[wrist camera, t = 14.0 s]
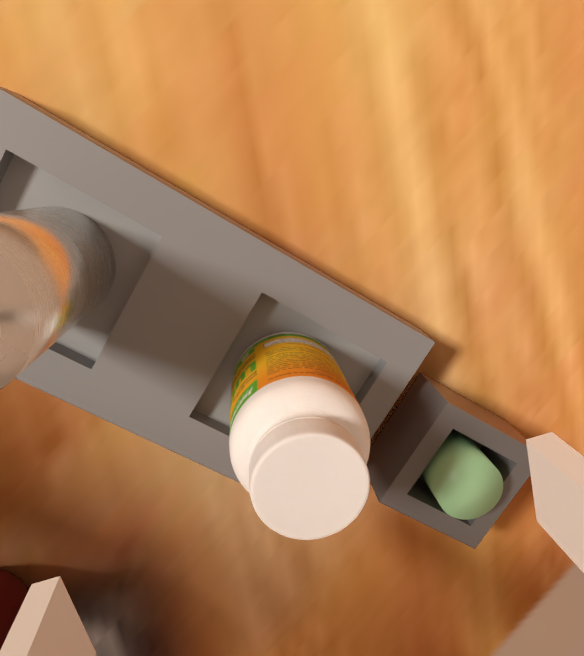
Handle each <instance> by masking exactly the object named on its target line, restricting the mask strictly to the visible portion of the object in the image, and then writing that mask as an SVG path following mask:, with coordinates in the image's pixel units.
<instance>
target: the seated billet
mask: <svg viewBox="0 0 584 656" xmlns="http://www.w3.org/2000/svg"><path fill="white" fill-rule="evenodd" d="M115 271H116V262H115V255H114V251H113V248H112V246H111V243H110V241H109V239H108V238H107V236H106V234H105V233H104V232H103V230H102V229H101V228H100V227H99V226H98V225H97V224H96V223H95V222H94V221H93V220H92V219H90V218H89V217H87V216H86V215H84V214H82V213H80V212H78V211H76V210H73V209H70V208H67V207H62V206H43V207H36V208H28V209H21V210H14V211H7V212H0V389H2V388H3V387H5V386H6V385H7V384H9V383H10V382H11V381H12V380H13V379H14V378H15V377H17V376H18V375H19V374H20V373H21V372H22V371H23V370H24V369H26V368H27V367H28V366H29V365H30V364H31V363H32V362H33V361H35V360H36V359H37V358H38V357H39V356H40V355H41V354H43V353H44V352H45V351H46V350H47V349H48V348H49V347H50V346H52V345H53V344H54V343H55V342H56V341H57V340H58V339H59V338H61V337H62V336H63V335H64V334H65V333H66V332H67V331H68V330H70V329H71V328H72V327H73V326H74V325H75V324H76V323H78V322H79V321H80V320H81V319H82V318H83V317H84V316H85V315H87V314H88V313H89V312H90V311H91V310H92V309H93V308H94V307H96V306H97V305H98V304H99V303H100V302H101V301H102V300H103V299H104V298H105V297H106V295H107V294H108V292H109V291H110V289H111V286H112V284H113V281H114V277H115Z"/></svg>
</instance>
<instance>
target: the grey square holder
mask: <svg viewBox="0 0 584 656" xmlns="http://www.w3.org/2000/svg"><path fill="white" fill-rule="evenodd" d="M452 429H455V430H457V431H458V432H460V433H462V434H464V435H466V436H468V437H469V438H470V439H471V440H472V441H473V442H474V443H475V444H476V446H477V447H478V448H479V449H480V450H481V451H482V452H483V454H484V455H485V456H486V457H487V458H488V459H489V460H490V461H491V463H492V464H493V465H494V466H495V467H496V468H497V469H498V471H499V472H500V474H501V476H502V479H503V492H502V495H501V498H500V500H499V501H498V503H497V504H496V505H495V507H494V508H493V509H492V510H490V511H489V512H488V513H486V514H485V515H483V516H480V517H478V518H474V519H468V520H463V519H457V518H454V517H452V516H450V515H448V514H447V513H446V512H445V511H444V510H443V509H442V507H441V506H440V504H439V503H438V501H437V499H436V498H435V496H434V494H433V493H432V491H431V490H430V488H429V486H428V485H427V483H426V481H425V480H424V478H423V476H422V475H421V474H422V472H423V471H424V469H425V468H426V467H427V465H428V464H429V462H430V461H431V459H432V458H433V457H434V455H435V454H436V452H437V451H438V449H439V448H440V447H441V445H442V444H443V442H444V441H445V439H446V438H447V437H448V435H449V434H450V432H451V431H452ZM367 467H368V471H369V476H370V482H371V484H372V487H373V489H374V491H375V493H376V496H377V498H378V500H379V502H380V503H382V504H384V505H386V506H388V507H390V508H392V509H394V510H396V511H398V512H401V513H403V514H405V515H407V516H409V517H411V518H413V519H415V520H417V521H419V522H421V523H423V524H425V525H427V526H429V527H431V528H433V529H435V530H437V531H439V532H442V533H444V534H446V535H448V536H450V537H452V538H454V539H456V540H458V541H460V542H462V543H464V544H466V545H468V546H470V547H472V548H474V549H475V548H476V547H477V546H478V544H479V543H480V542H481V540H482V539H483V538H484V536H485V535H486V534H487V532H488V531H489V530H490V528H491V527H492V526H493V524H494V523H495V522H496V520H497V519H498V518H499V516H500V515H501V514H502V512H503V511H504V510H505V508H506V507H507V506H508V504H509V503H510V502H511V500H512V499H513V498H514V496H515V495H516V494H517V492H518V491H519V490H520V488H521V487H522V486H523V484H524V483H525V482H526V480H527V479H528V478H529V476H530V475H531V474H530V466H529V459H528V451H527V444H526V438H525V437H523V436H522V435H521V434H520V433H519V432H518V431H517V430H516V429H515V428H514V427H512V426H511V425H510V424H509V423H508V422H507V421H506V420H504V419H502V418H500V417H499V416H497V415H495V414H493V413H492V412H490V411H488V410H486V409H484V408H483V407H481V406H479V405H477V404H476V403H474V402H472V401H470V400H468V399H467V398H465V397H463V396H461V395H460V394H458V393H456V392H454V391H452V390H451V389H449V388H447V387H445V386H444V385H442V384H440V383H438V382H436V381H435V380H433V379H431V378H429V377H428V376H426V375H424V374H422V373H420V374H419V376H418V377H417V379H416V380H415V382H414V383H413V385H412V386H411V388H410V389H409V390H408V392H407V393H406V395H405V396H404V398H403V399H402V401H401V402H400V404H399V405H398V407H397V408H396V410H395V411H394V413H393V414H392V416H391V417H390V419H389V420H388V422H387V423H386V425H385V426H384V428H383V429H382V431H381V432H380V434H379V435H378V437H377V438H376V440H375V441H374V443H373V444H372V446H371V447H370V453H369V458H368V461H367Z"/></svg>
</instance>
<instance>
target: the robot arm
mask: <svg viewBox="0 0 584 656" xmlns="http://www.w3.org/2000/svg"><path fill="white" fill-rule="evenodd" d="M526 444H527V451H528V459H529V466H530V474H531V481H532V489H533V496H534V504H535V511H536V519H537V522H538V523H539V524H540V525H541V526H542V527H543V529H544V530H545V531H546V532H547V533H548V534H549V535H550V536H551V537H552V539H553V540H554V541H555V542H556V543H557V544H558V545H559V546H560V548H561V549H562V550H563V551H564V552H565V553H566V554H567V555H568V556H569V558H570V559H571V560H572V561H573V562H574V563H575V564H576V565H577V566H578V568H579V569H580V570H581V571H582V572H583V573H584V457H583V456H582V455H581V454H579V453H578V452H577V451H576V450H574V449H573V448H572V447H571V446H569V445H568V444H567V443H565V442H564V441H563V440H562V439H560V438H559V437H558V436H557V435H555V434H554V433H553V432H550V433H547V434H543V435H540V436H536V437H533V438H530V439H526ZM0 656H96V651H95V649H94V647H93V645H92V643H91V641H90V639H89V636H88V634H87V632H86V630H85V628H84V626H83V624H82V622H81V620H80V617H79V615H78V613H77V611H76V609H75V607H74V605H73V603H72V600H71V598H70V596H69V594H68V592H67V590H66V588H65V586H64V583H63V581H62V579H61V577H60V576H58V577H55V578H51V579H48V580H44V581H41V582H38V583H34V584H32V585H31V587H30V589H29V591H28V593H27V595H26V597H25V599H24V601H23V603H22V606H21V608H20V610H19V612H18V614H17V616H16V618H15V620H14V622H13V625H12V627H11V629H10V631H9V633H8V635H7V637H6V639H5V641H4V643H3V646H2V648H1V650H0Z"/></svg>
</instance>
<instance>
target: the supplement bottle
mask: <svg viewBox="0 0 584 656" xmlns="http://www.w3.org/2000/svg"><path fill="white" fill-rule="evenodd" d="M229 450H230V459H231V464H232V467H233V470H234V472H235V474H236V476H237V478H238V480H239V481H240V483H241V484H242V486H243V487H244V488H245V489H246V490H247V492H249V493H250V497H251V502H252V505H253V507H254V510H255V511H256V513H257V515H258V516H259V518H260V519H261V520H262V521H263V523H264V524H266V525H267V526H268V527H269V528H270V529H272V530H273V531H275V532H277V533H279V534H281V535H283V536H286V537H289V538H293V539H300V540H313V539H320V538H324V537H327V536H330V535H332V534H335V533H337V532H339V531H341V530H342V529H344V528H345V527H347V526H348V525H349V524H350V523H352V522H353V521H354V520H355V518H356V517H357V516H358V515H359V514H360V512H361V511H362V509H363V507H364V505H365V503H366V501H367V498H368V494H369V489H370V476H369V471H368V467H367V461H368V458H369V453H370V432H369V427H368V424H367V421H366V418H365V416H364V413H363V411H362V409H361V407H360V405H359V403H358V401H357V400H356V398H355V396H354V394H353V392H352V391H351V389H350V387H349V385H348V383H347V381H346V379H345V377H344V376H343V374H342V371H341V370H340V368H339V366H338V364H337V362H336V360H335V358H334V357H333V355H332V354H331V352H330V351H329V350H328V349H327V348H326V347H325V346H324V345H323V344H322V343H321V342H319V341H318V340H316V339H314V338H312V337H310V336H308V335H305V334H301V333H297V332H278V333H274V334H270V335H267V336H265V337H263V338H261V339H259V340H257V341H256V342H254V343H253V344H252V345H250V346H249V347H248V348H247V349H246V350H245V351H244V353H243V354H242V355H241V357H240V358H239V360H238V362H237V364H236V366H235V369H234V373H233V377H232V385H231V407H230V431H229Z"/></svg>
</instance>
